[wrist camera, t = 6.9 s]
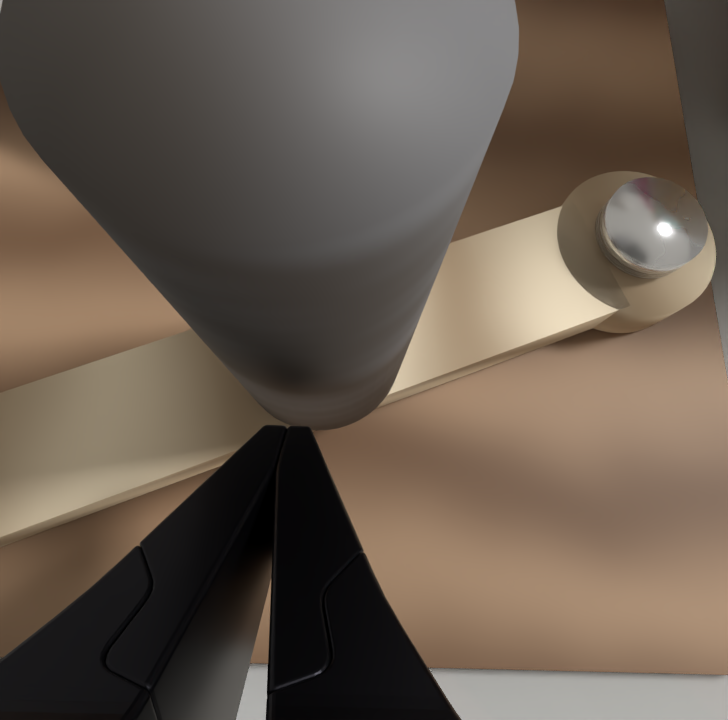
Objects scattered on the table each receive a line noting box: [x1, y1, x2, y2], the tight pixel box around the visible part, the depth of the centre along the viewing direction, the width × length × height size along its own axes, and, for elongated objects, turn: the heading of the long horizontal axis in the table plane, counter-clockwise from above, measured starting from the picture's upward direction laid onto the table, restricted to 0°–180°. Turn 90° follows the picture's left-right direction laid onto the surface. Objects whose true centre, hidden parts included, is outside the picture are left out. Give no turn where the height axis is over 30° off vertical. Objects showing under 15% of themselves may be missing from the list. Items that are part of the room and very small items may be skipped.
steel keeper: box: [0, 0, 708, 279], centre depth 16 cm, size 26×5×4 cm, turn 66°
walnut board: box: [0, 0, 728, 675], centre depth 17 cm, size 24×28×1 cm
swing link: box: [0, 0, 716, 547], centre depth 10 cm, size 24×5×12 cm, turn 111°
